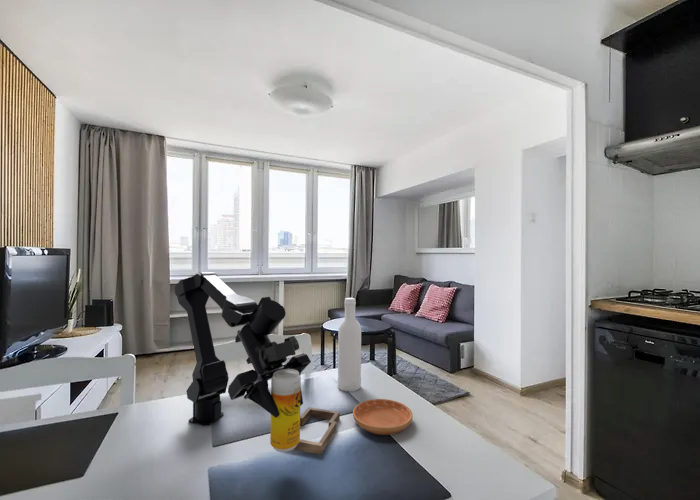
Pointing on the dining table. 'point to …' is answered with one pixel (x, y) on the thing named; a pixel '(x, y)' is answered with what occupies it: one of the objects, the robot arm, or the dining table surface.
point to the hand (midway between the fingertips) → (290, 410)
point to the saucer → (382, 416)
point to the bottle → (349, 349)
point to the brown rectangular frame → (332, 427)
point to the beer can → (286, 410)
